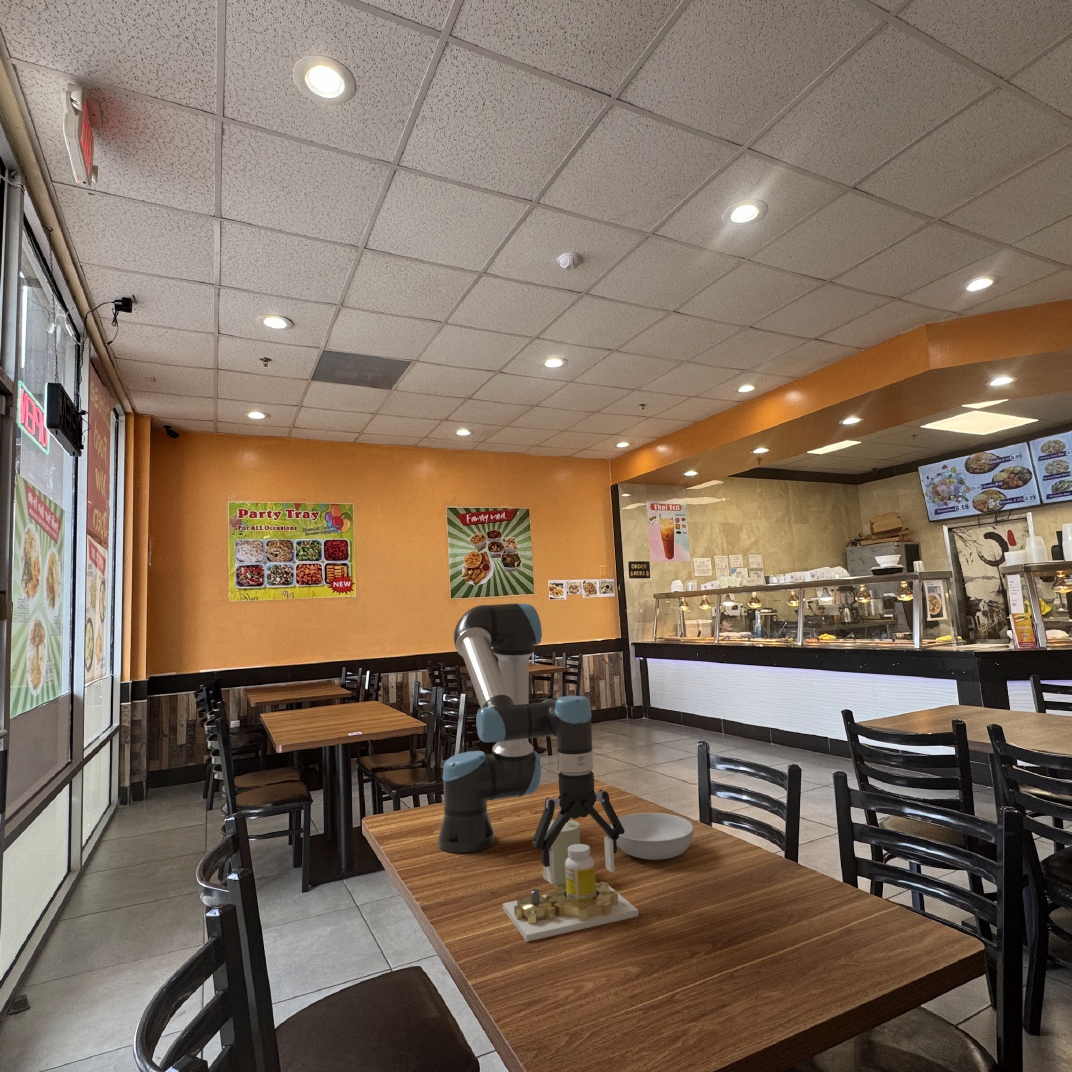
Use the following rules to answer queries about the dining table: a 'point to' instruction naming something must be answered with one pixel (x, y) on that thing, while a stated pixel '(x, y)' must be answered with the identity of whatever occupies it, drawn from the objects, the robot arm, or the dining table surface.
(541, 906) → the gear
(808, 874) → the dining table surface
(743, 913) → the dining table surface
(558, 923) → the gear board
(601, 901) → the gear
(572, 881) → the pill bottle
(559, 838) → the can
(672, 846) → the serving bowl
